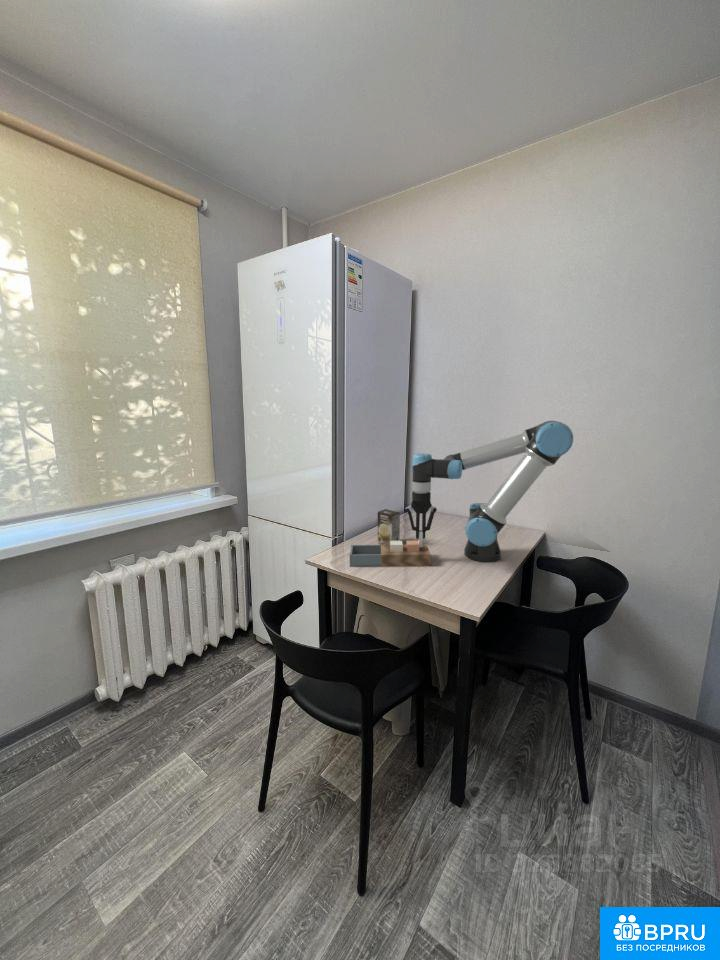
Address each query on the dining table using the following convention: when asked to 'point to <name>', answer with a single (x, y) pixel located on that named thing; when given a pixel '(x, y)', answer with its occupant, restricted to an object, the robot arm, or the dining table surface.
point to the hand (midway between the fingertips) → (420, 545)
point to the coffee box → (388, 526)
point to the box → (365, 556)
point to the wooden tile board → (405, 557)
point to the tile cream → (396, 546)
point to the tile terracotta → (412, 546)
